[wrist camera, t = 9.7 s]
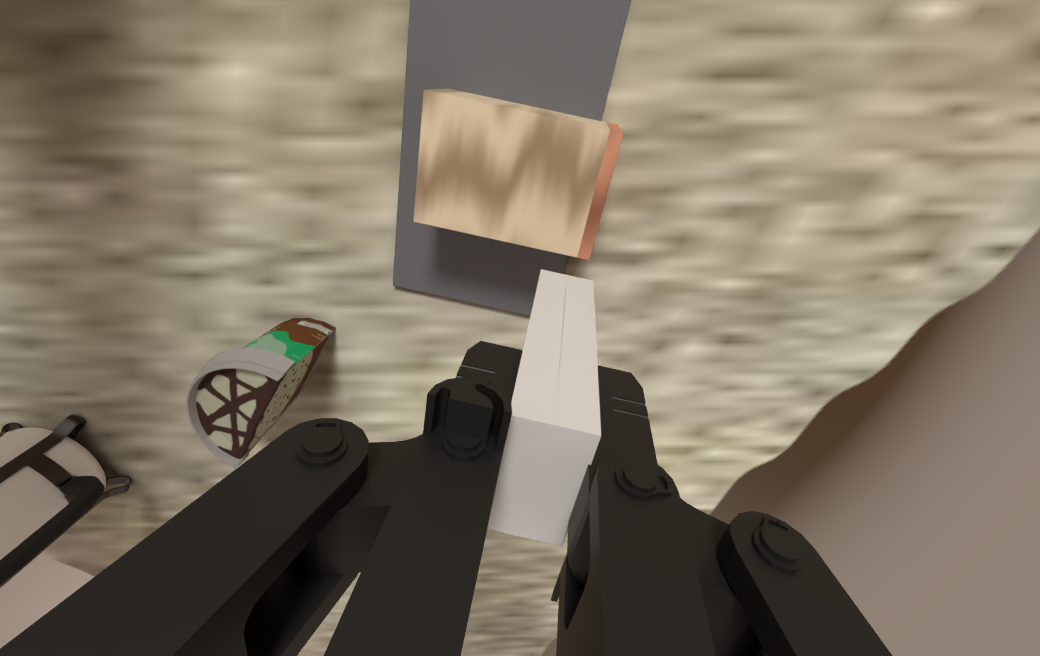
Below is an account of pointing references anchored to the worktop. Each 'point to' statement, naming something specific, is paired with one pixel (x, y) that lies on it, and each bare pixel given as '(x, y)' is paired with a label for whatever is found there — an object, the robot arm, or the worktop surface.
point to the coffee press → (45, 489)
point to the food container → (253, 386)
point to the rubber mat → (506, 76)
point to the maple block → (513, 171)
